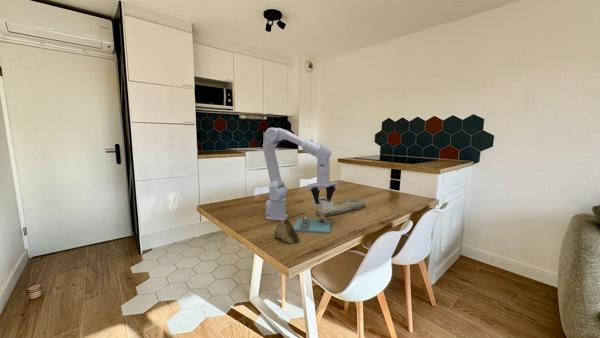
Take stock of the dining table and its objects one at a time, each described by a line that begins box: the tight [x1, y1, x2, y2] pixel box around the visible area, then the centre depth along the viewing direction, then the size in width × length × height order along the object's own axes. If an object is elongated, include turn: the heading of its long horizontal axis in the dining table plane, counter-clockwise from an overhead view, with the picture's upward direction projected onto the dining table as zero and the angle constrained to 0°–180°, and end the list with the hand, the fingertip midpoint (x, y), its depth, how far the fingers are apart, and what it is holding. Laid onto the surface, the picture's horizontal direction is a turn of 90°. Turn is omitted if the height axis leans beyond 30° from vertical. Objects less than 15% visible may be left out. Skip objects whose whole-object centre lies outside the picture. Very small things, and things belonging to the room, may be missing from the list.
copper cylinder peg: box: [319, 214, 325, 223], centre depth 118 cm, size 2×2×3 cm
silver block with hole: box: [312, 196, 334, 209], centre depth 116 cm, size 6×9×3 cm, turn 23°
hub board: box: [293, 218, 332, 235], centre depth 114 cm, size 16×14×1 cm
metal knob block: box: [300, 216, 311, 230], centre depth 112 cm, size 3×8×5 cm, turn 171°
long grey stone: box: [315, 197, 366, 218], centre depth 138 cm, size 35×5×10 cm
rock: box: [273, 217, 301, 244], centre depth 100 cm, size 11×9×10 cm
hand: (322, 202), depth 117 cm, fingers open, 6 cm apart
